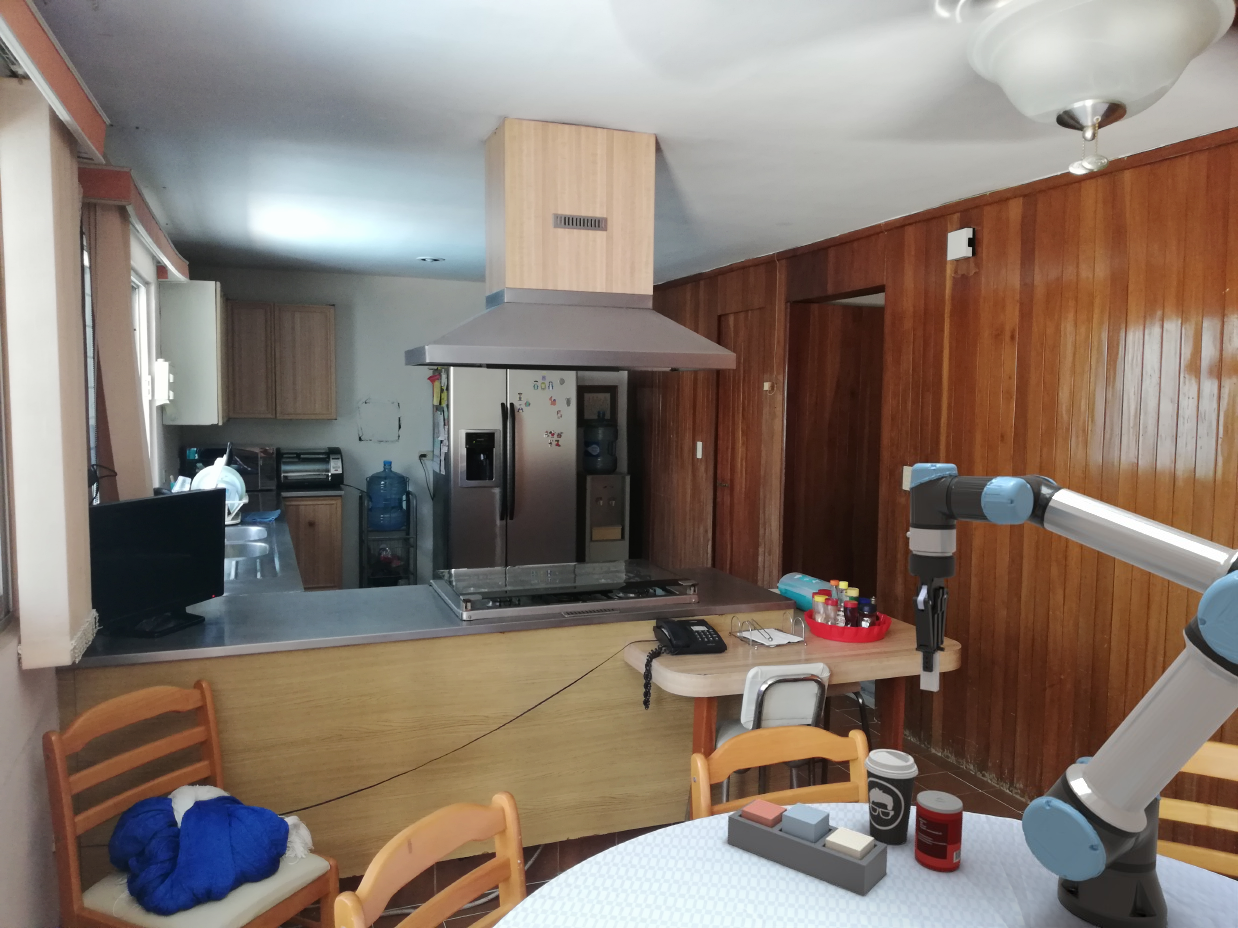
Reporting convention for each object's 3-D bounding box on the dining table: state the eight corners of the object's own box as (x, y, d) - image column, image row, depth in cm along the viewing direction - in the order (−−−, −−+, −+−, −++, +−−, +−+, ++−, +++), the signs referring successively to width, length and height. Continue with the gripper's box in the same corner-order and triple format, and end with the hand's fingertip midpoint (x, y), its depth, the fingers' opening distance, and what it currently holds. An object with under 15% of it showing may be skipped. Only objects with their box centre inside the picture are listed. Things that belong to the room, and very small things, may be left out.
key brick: (786, 829, 152) (787, 808, 152) (770, 841, 147) (771, 819, 147) (757, 819, 156) (758, 798, 156) (740, 830, 151) (741, 808, 151)
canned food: (952, 851, 150) (955, 791, 150) (966, 874, 142) (969, 811, 142) (909, 848, 151) (911, 788, 151) (920, 870, 143) (923, 807, 143)
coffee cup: (922, 849, 151) (926, 768, 150) (869, 847, 151) (872, 766, 150) (905, 825, 160) (908, 748, 160) (855, 823, 160) (858, 746, 160)
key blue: (828, 834, 147) (829, 812, 147) (813, 847, 142) (814, 824, 142) (797, 824, 151) (798, 802, 150) (781, 835, 146) (782, 813, 146)
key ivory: (873, 860, 142) (874, 837, 142) (858, 874, 137) (859, 850, 137) (840, 848, 145) (840, 826, 145) (824, 861, 141) (825, 838, 141)
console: (886, 873, 142) (887, 844, 142) (863, 895, 135) (865, 865, 135) (753, 825, 158) (754, 799, 158) (727, 843, 151) (728, 815, 151)
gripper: (921, 547, 151) (919, 677, 151) (897, 554, 140) (895, 693, 141) (964, 551, 146) (962, 684, 147) (943, 558, 136) (941, 702, 136)
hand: (929, 688), depth 144 cm, fingers closed
